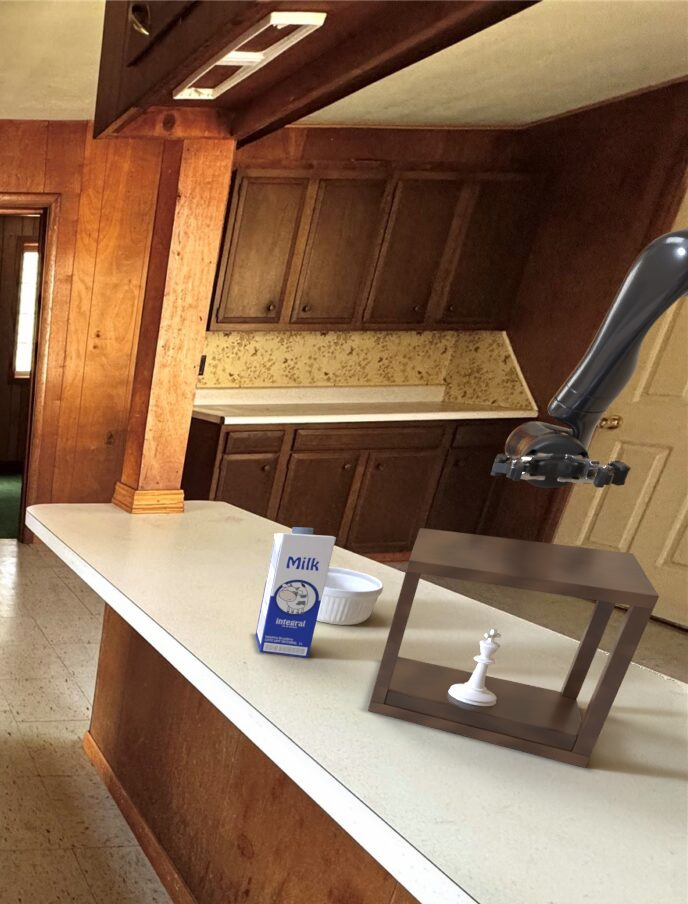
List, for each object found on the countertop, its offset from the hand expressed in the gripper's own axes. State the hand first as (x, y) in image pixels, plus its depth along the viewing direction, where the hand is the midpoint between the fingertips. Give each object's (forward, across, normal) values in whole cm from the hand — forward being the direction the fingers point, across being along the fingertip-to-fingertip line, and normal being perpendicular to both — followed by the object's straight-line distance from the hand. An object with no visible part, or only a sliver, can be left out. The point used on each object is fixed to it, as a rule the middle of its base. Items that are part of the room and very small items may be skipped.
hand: (559, 477), depth 93 cm
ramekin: (-4, -23, +28) cm, 37 cm away
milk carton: (+16, -27, +28) cm, 42 cm away
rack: (+22, -3, +28) cm, 36 cm away
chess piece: (+22, -3, +27) cm, 35 cm away
